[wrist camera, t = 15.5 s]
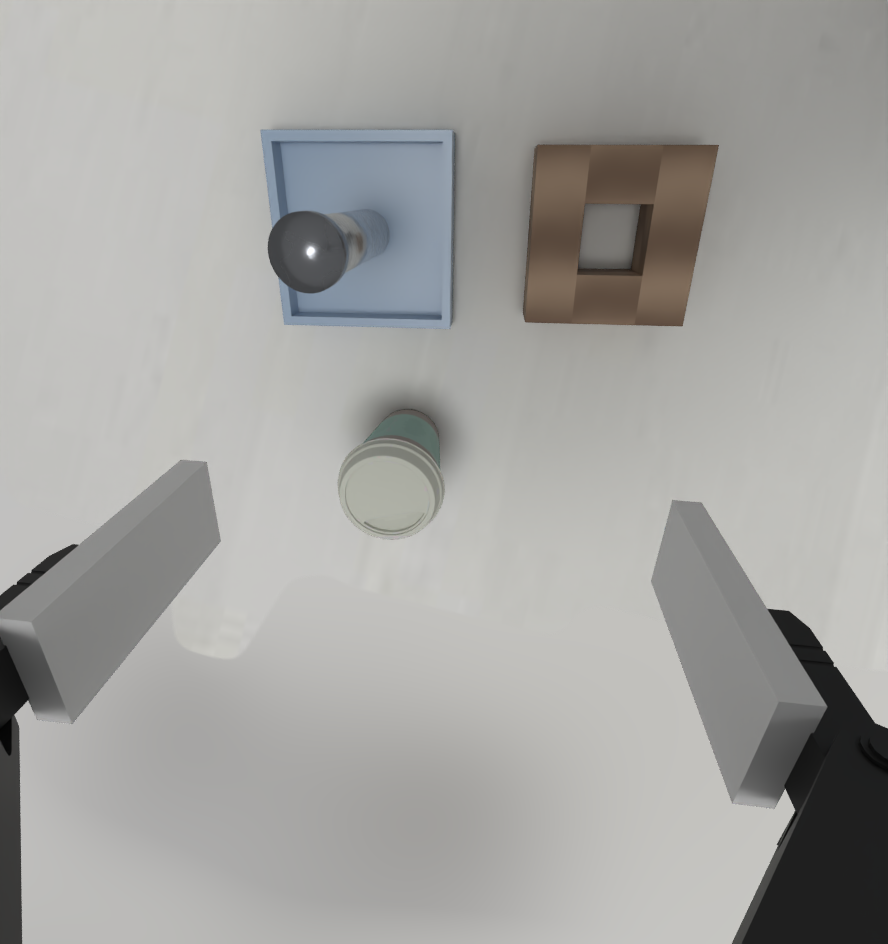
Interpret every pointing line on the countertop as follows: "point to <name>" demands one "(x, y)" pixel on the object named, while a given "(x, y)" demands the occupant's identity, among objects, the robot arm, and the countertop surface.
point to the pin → (324, 246)
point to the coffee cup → (394, 477)
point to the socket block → (657, 239)
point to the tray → (391, 195)
